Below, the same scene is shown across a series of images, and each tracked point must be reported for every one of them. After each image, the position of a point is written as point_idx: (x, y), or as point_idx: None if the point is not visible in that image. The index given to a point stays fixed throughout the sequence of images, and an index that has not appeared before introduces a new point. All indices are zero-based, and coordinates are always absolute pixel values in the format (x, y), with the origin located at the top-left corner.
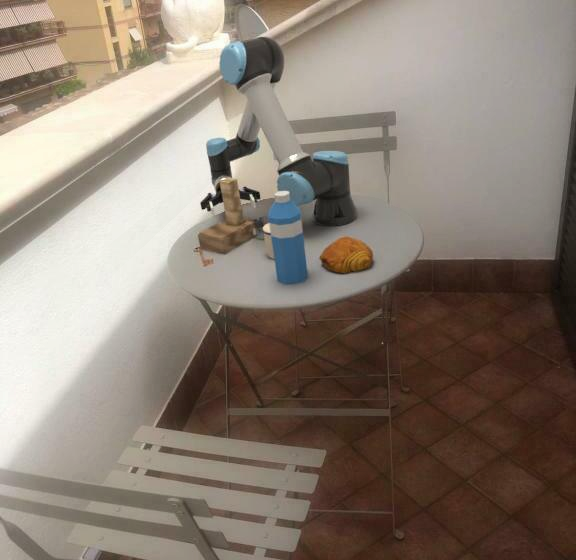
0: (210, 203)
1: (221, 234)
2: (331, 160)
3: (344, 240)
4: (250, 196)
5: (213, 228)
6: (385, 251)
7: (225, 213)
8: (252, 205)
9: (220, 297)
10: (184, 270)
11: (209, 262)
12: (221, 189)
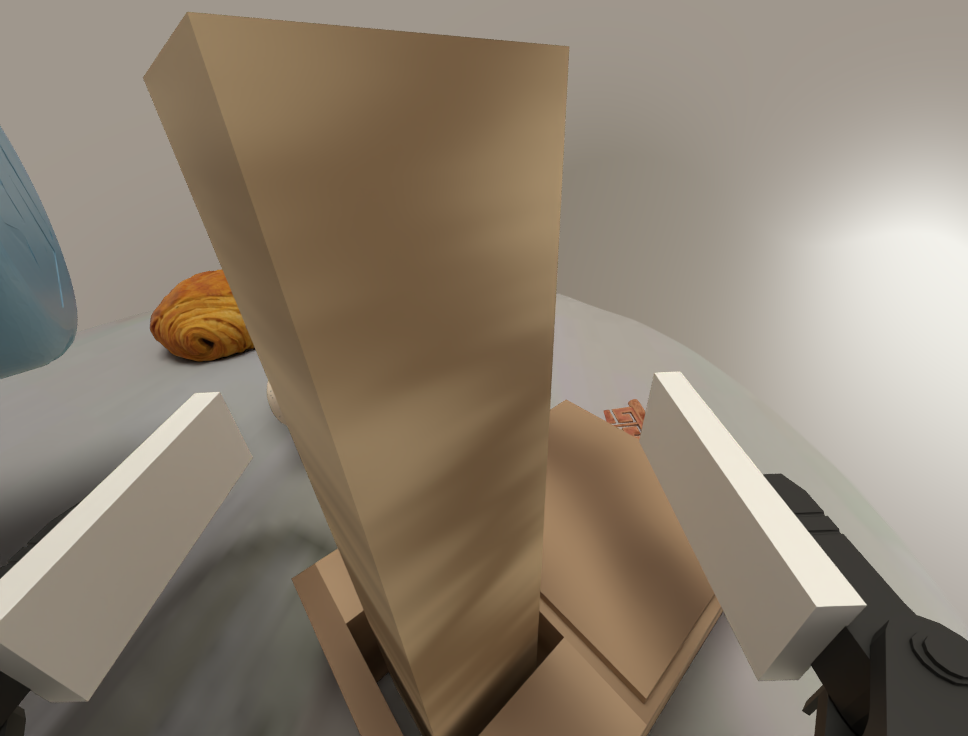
0: (773, 503)
1: (573, 438)
2: None
3: (212, 276)
4: (99, 516)
5: (661, 555)
6: (119, 343)
7: (539, 562)
8: (209, 513)
9: (558, 297)
10: (716, 398)
11: (622, 418)
12: (547, 260)
